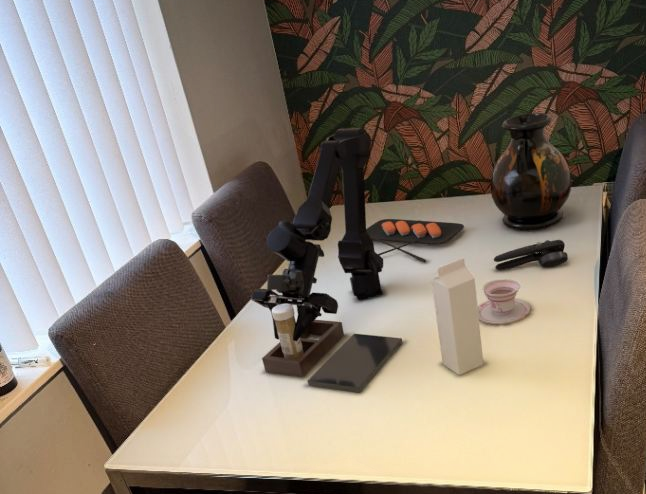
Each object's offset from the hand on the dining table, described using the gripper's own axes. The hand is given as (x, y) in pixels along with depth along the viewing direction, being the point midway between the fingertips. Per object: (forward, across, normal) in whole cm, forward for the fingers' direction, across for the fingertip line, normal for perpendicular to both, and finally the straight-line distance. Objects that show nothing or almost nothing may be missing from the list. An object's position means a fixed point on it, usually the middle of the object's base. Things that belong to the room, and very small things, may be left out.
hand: (285, 339), depth 160 cm
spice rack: (+1, 0, +9) cm, 9 cm away
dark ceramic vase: (-55, +27, +64) cm, 89 cm away
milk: (-1, +36, +11) cm, 38 cm away
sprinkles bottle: (+4, 0, +6) cm, 7 cm away
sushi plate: (-40, -5, +50) cm, 64 cm away
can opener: (-35, +35, +44) cm, 66 cm away
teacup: (-17, +37, +27) cm, 48 cm away
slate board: (+2, +14, +8) cm, 16 cm away
